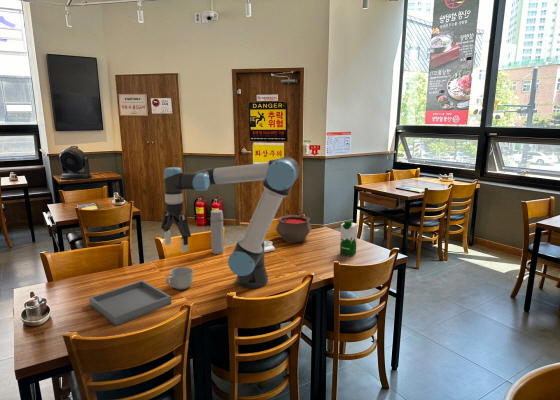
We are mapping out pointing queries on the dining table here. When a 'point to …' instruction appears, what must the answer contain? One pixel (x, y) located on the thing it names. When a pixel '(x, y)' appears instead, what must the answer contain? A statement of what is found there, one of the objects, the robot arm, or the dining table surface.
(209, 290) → the dining table surface
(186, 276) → the teacup
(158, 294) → the tray
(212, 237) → the water bottle
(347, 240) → the milk carton
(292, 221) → the cooking pot
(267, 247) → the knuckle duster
